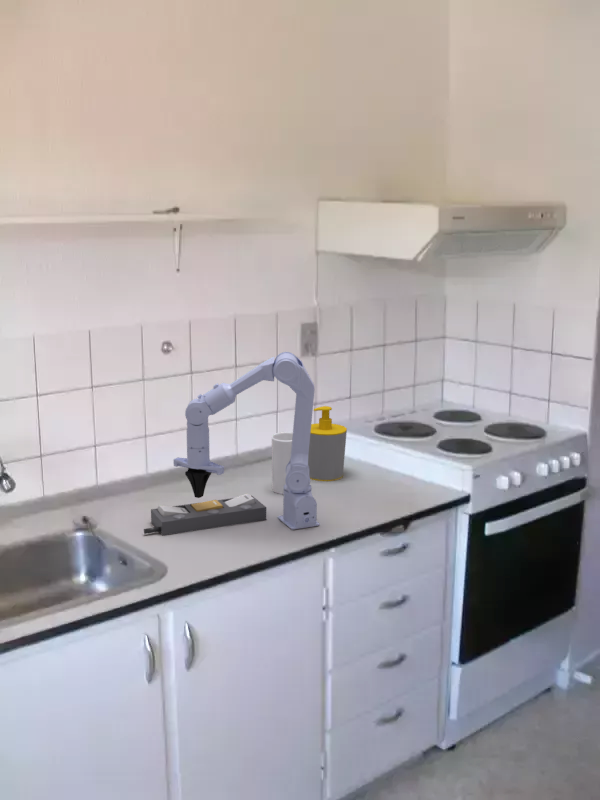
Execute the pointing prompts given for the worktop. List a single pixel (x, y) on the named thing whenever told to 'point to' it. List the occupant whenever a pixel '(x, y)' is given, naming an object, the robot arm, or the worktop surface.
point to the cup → (280, 459)
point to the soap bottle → (326, 448)
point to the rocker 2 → (240, 500)
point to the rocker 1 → (171, 510)
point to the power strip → (206, 518)
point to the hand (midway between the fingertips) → (199, 496)
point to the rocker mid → (206, 505)
